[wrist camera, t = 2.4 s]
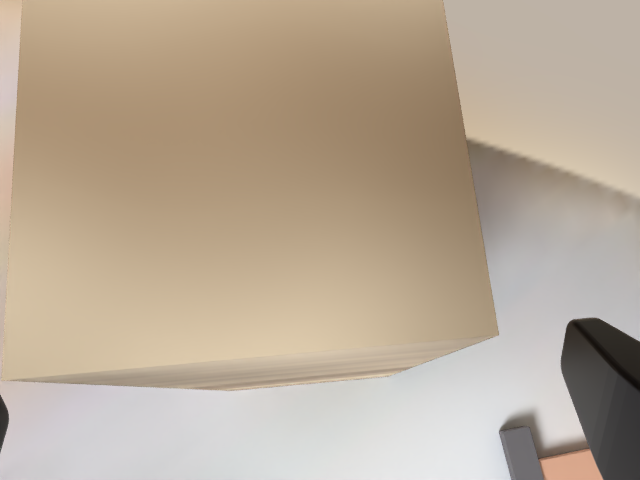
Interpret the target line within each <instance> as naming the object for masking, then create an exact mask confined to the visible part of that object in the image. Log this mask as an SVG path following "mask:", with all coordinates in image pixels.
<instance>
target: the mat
mask: <svg viewBox="0 0 640 480" xmlns="http://www.w3.org/2000/svg"><path fill="white" fill-rule="evenodd" d="M499 434H500V438H501V442H502V445H503V449H504V453H505V457H506V461H507V464H508V468H509V472H510V476H511V480H603V478H602V476H601V474H600V472H599V470H598V468H597V465H596V463H595V461H594V458H593V456H592V453H591V451H590V448H589V449H584V450H579V451H575V452H570V453H565V454H560V455H555V456H550V457H545V458H541V459H538V456H537V453H536V449H535V446H534V442H533V438H532V435H531V431H530V428H529V427H527V426H522V427H517V428H512V429H507V430H502V431H499Z"/></svg>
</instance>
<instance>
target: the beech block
mask: <svg viewBox="0 0 640 480" xmlns="http://www.w3.org/2000/svg"><path fill="white" fill-rule="evenodd" d="M498 335H499V332H498V326H497V320H496V314H495V308H494V302H493V296H492V290H491V284H490V278H489V272H488V266H487V260H486V254H485V248H484V243H483V237H482V231H481V225H480V219H479V213H478V207H477V201H476V195H475V189H474V183H473V177H472V171H471V165H470V159H469V153H468V147H467V141H466V135H465V129H464V124H463V118H462V112H461V105H460V99H459V93H458V88H457V82H456V76H455V70H454V64H453V58H452V52H451V46H450V40H449V34H448V28H447V22H446V16H445V10H444V4H443V0H22V16H21V34H20V52H19V70H18V88H17V106H16V124H15V142H14V161H13V179H12V197H11V215H10V233H9V251H8V269H7V287H6V305H5V323H4V341H3V359H2V377H1V381H23V382H45V383H68V384H90V385H112V386H135V387H157V388H180V389H202V390H224V391H234V390H245V389H256V388H267V387H278V386H289V385H300V384H311V383H322V382H333V381H344V380H355V379H366V378H377V377H388V376H391V375H393V374H396V373H399V372H401V371H404V370H407V369H409V368H412V367H415V366H417V365H420V364H423V363H425V362H428V361H431V360H433V359H436V358H439V357H442V356H444V355H447V354H450V353H452V352H455V351H458V350H460V349H463V348H466V347H468V346H471V345H474V344H476V343H479V342H482V341H484V340H487V339H490V338H493V337H495V336H498Z"/></svg>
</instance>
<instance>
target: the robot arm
mask: <svg viewBox="0 0 640 480" xmlns="http://www.w3.org/2000/svg"><path fill="white" fill-rule="evenodd" d="M561 370H562V374H563V377H564V380H565V383H566V385H567V388H568V391H569V393H570V396H571V399H572V402H573V404H574V407H575V410H576V413H577V415H578V418H579V421H580V423H581V426H582V429H583V432H584V434H585V437H586V440H587V442H588V445H589V448H590V451H591V453H592V456H593V458H594V461H595V463H596V465H597V468H598V470H599V472H600V474H601V476H602V478H603V480H640V342H639V341H638V340H636V339H634V338H632V337H631V336H629V335H627V334H625V333H624V332H622V331H620V330H618V329H617V328H615V327H613V326H611V325H610V324H608V323H606V322H604V321H602V320H600V319H598V318H583V319H573V320H571V321H570V322H569V323H568V325H567V328H566V333H565V338H564V344H563V350H562V356H561ZM8 422H9V414H8V410H7V407H6V405H5V403H4V401H3V399H2V397H1V395H0V452H1V449H2V445H3V442H4V438H5V435H6V431H7V428H8Z"/></svg>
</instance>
